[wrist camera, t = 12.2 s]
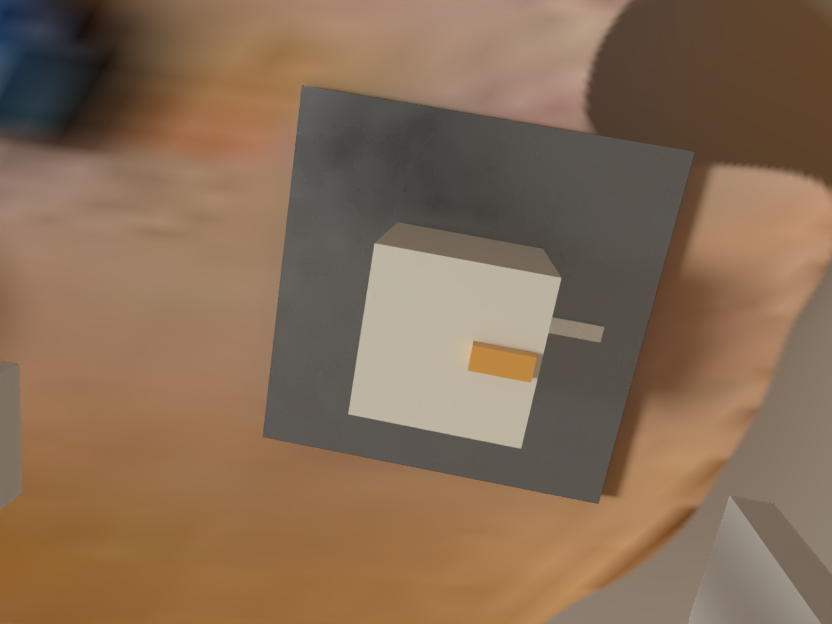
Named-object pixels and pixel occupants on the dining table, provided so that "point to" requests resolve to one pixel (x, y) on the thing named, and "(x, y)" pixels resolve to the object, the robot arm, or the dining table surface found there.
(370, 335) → the white box
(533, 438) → the panel
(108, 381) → the dining table surface
